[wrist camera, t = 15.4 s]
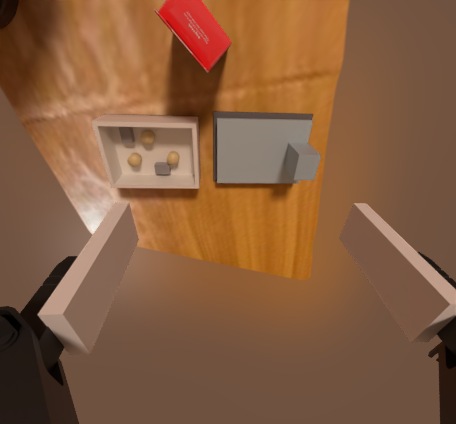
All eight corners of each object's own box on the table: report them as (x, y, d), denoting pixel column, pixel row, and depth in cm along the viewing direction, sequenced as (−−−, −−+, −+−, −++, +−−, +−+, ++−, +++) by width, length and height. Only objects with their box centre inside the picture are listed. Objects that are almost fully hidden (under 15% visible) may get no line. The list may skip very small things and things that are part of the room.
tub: (121, 175, 50) (111, 187, 46) (105, 113, 43) (91, 121, 38) (200, 176, 52) (199, 188, 47) (198, 116, 44) (196, 123, 39)
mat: (213, 180, 52) (213, 180, 52) (213, 111, 44) (213, 111, 43) (296, 180, 53) (297, 181, 53) (312, 114, 45) (313, 114, 45)
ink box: (229, 47, 38) (235, 41, 26) (209, 70, 40) (207, 75, 28) (191, -3, 34) (179, -36, 22) (171, 25, 36) (149, 9, 24)
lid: (217, 178, 52) (217, 199, 44) (217, 116, 44) (217, 128, 36) (295, 179, 53) (308, 199, 45) (308, 118, 45) (327, 130, 37)
